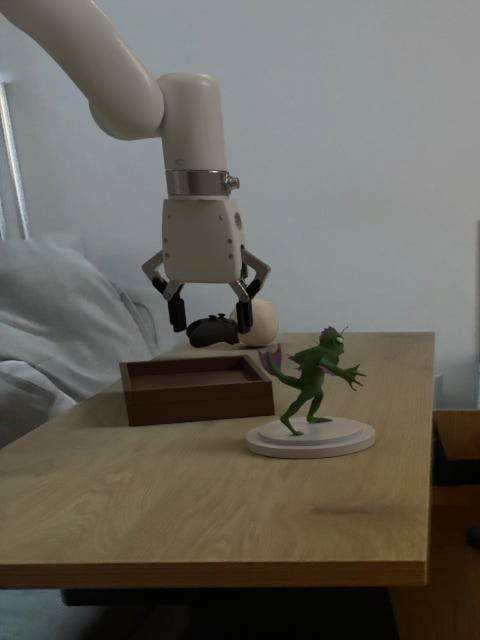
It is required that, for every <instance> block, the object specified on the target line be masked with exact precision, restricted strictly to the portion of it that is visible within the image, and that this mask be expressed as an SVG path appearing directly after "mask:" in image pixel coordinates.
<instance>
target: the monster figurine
mask: <svg viewBox="0 0 480 640" xmlns="http://www.w3.org/2000/svg"><path fill="white" fill-rule="evenodd" d="M346 329H349V326H346V327H345V328H344V329H343V330H342V331H341V332H340V333H339V332H338V330H337V329H336V328H335V327H333V326H331V325H328V328H327V327H326V328H325V327H324V328H323V330H322V331H321V334H320V335H319V337H318V342H319V344H318V342H316V341H314V340H313V342H315V343H316V344H317V345H316V346H312V345H309V348H306V349H303V350H301V351H298V352H295V353H294V355H291V354H285V355H286V356H287V358H288V359H289V360H290V361H292V362H293V363H294V364H297V365H299V366H298V367H295V368H294V370H297V371H298V372H300V376H299V378H298V377H296V376H292V375H286V374H284V373H283V372H282V362H283V359H282V358H283V357H282V356H283V355H282V353H283V352H282V347H281V344H280V343H279V342H277V348H276V350H275V351H274V352H270V351H269V350H267V351H266V352H265V353H263V352H262V351H261V350H260V347H257V353H258V357H259V361H260V363H261V365H262V368H263V369H264V371H265V372H266V373H268V374H269V375H270V376H272V377H275V378H277V379H278V380H279V381H280V382H281V383H282V384H284V385H286V386H287V387H291V388H294V389H296V390H298V391H300V393H299V394H298V395H297V398H296V400H294V401H293V402H292V403H291V404H290V405H289V406H288V408H287V410H286V411H285V412H284V413H283V414H282V415H281V416H279V419H277V420H274V421H271V422H267V423H264V424H263V425H260V426H258V427H255V428H253V429H251V430H250V431H248V432H247V433H246V435H245V442H246V448H247V449H248V451H250V452H253V453H255V454H258V455H261V456H266V457H271V458H272V457H273V458H278V459H279V458H280V459H322V458H332V457H338V456H345V455H349V454H354V453H358V452H361V451H364V450H366V449H368V448H370V447H372V446H373V445H374V444H375V443H376V430H375V428H374V427H373V426H371V425H369V424H368V423H363V422H361V421H357V420H355V419H352V418H347V417H340V416H339V417H338V416H327V415H326V416H322V415H321V416H320V415H319V416H317V415H316V416H314V415H315V414H316V413H317V411H319V408H320V407H321V404H322V401H323V398H324V397H325V396H324V395H325V394H324V391H323V389H322V386H323V385H324V383H325V374H327V375H331V376H332V377H335V376H336V377H339V378H341V379H343V380H344V381H346V382H347V383H348V385H349V388H350V389H351V390H353V391H354V392H358V390H357V388H354V387H353V383H355V384H357V385H359V386H360V387H364V385H363V384H362V383H361V382H359V381H358V380H357V379H356V377H357V376H359V377H367V375H366V374H364V373H361V372H358V369H359V367H360V366H361V364H356V365H355V366H352V367H348V368H346V369H345V368H344V369H343V368H341V367H340V366H338V364H339V362H340V355H342V354H344V353H345V349H344V348H345V344H344V338H343V336H342V334H343V332H344V331H345V330H346ZM310 400H311V402H310V407H309V409H308V412H307V415H306V416H299V417H293V416H294V415H296V414H297V413H298V411H299V410H300V409H302V406H304V405H305V403H306V402H308V401H310Z"/></svg>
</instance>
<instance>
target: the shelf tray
mask: <svg viewBox="0 0 480 640" xmlns="http://www.w3.org/2000/svg"><path fill="white" fill-rule="evenodd" d="M118 365H119V372H120V378H121V384H122V390H123V397H124V402H125V409H126V415H127V420H128V426H129V427H139V426H152V425H153V426H154V425H165V424H166V425H167V424H176V423H178V424H179V423H189V422H201V421H212V420H213V421H214V420H227V419H239V418H250V417H251V418H252V417H264V416H275V415H276V410H275V401H274V400H275V398H274V388H273V387H274V386H273V382H272V379H271V378H270V377H269V376H268V375H267V374H266V373H265V372H264V371H263V369H262V368H261V367H260V366H259V365H258V364H257V363H256V361H255V360H254V359H253V358H252V357H251V356H250V355H249V354H237V355H236V354H235V355H220V356H219V355H218V356H205V357H203V356H202V357H190V358H189V357H186V358H171V359H155V360H137V361H136V360H135V361H127V362H126V361H122V362H118Z"/></svg>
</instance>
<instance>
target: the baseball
mask: <svg viewBox="0 0 480 640" xmlns="http://www.w3.org/2000/svg"><path fill="white" fill-rule="evenodd" d="M251 301H252V313H253V326H252V327H250V328H251V330H250V332H248V333H246V334H240V333H238V339H239V341H240V343H242V344H244V345H246V346H248V347H253V348H260V347H261V348H262V347H264V346H265V347H266V346H268V345H269V344H271V343H272V342H274V341H275V340H276V338H277V336H278V333H279V331H280V319H279V314H278V313H277V311H276V309H275V308H274V305H272V304H271V303H270V302H269V301H267V300H265V299H262V298H257V297H256V298H255V297H254V299H253V300H251ZM227 319H232V320H234V321H235V322H237V312H236V305H235V306H234V307H233V309H232V310H231V311H230V313H229V315H228V317H227ZM237 325H238V323H237Z"/></svg>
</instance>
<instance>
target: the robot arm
mask: <svg viewBox="0 0 480 640" xmlns="http://www.w3.org/2000/svg"><path fill="white" fill-rule="evenodd" d="M0 14H1V15H2V16H3V17H4V18H5V19H6V20H7V21H8V22H9V23H10V24H11V25H13V26H14V27H16V28H17V29H18V30H20V31H21V32H23V33H24V34H26V35H27V36H28V37H29V38H31V39H32V40H33V41H34V42H36V43H37V44H38V46H40V48H42V49H43V50H44V52H46V53H47V54H48V56H49V57H51V59H52V60H54V63H56V64H57V66H59V67H60V69H61V70H62V71H63V72H64V73H65V75H67V77H68V78H69V79H70V80H71V82H72V83H73V84H74V86H75V87H76V88H77V89H78V90H79V91H80V93H82V95H83V96H84V97H85V98H86V99H87V101H88V108H89V113H90V115H91V118H92V119H93V121H94V123H95V125H96V126H97V127H98V128H99V129H100V130H101V131H102V132H103V133H105V135H107V136H109V137H111V138H113V139H115V140H119V141H124V142H131V141H138V140H139V141H140V140H147V139H158V138H159V139H161V146H162V155H163V165H164V170H165V171H164V173H165V181H166V190H167V198H163V201H162V210H161V211H162V213H161V247H162V248H161V250H159V252H156V253H155V254H154V255H152V257H150V258H149V259H148V260H147V261H145V262H144V263H143V264H142V265H141V270H142V271H143V273H144V274H145V276H146V277H147V279H148V280H149V281H150V282H151V285H152V286H153V288H154V289H155V290H157V291H158V292H159V293H160V295H162V298H163V300H165V301H166V302H167V311H168V312H167V313H168V319H169V324H170V325H171V326H172V329H173V333H175V334H176V333H178V334H179V333H181V332H184V331H186V329H187V327H188V323H187V315H186V314H187V313H186V305H185V300H184V298H182V297H181V293H182V292H183V289H184V288H185V285H187V284H219V285H220V284H225V285H226V284H228V285H229V287H230V288H231V289H232V291H233V293H234V294H235V295H236V297H237V298H238V301H237V302H236V303H235V306H236V312H237V323H238V332H239V333H240V334H246V333H248V332H250V330H251V328H250V327H252V326H253V313H252V301H251V300H253V299H254V298H255V297H256V296H257V294H259V292H260V291H261V290H262V289H263V287H264V284H265V283H266V281H267V279H268V278H269V276H270V273H271V271H272V268H271V266H270V265H268V264H267V263H265V262H264V261H263V260H261V259H260V258H258V257H256V255H254V254H252V253H251V252H250V251H249V250H248V247H247V241H246V235H245V234H246V233H245V229H244V224H243V220H242V215H241V211H240V206H239V203H238V200H237V199H231V196H230V195H232V191H234V190H240V186H241V183H240V178H239V177H233V175H231V174H230V172H229V171H228V164H227V163H228V161H227V160H228V159H227V151H226V140H225V128H224V117H223V106H222V94H221V87H220V85H219V82H218V81H217V79H215V78H214V76H211V75H209V74H203V73H197V72H169V73H164V74H162V75H160V76H159V77H158V76H154V75H153V74H152V72H151V71H150V70H149V69H148V67H147V66H146V65H145V63H144V62H143V61H142V59H141V58H140V57H139V56H138V54H137V53H136V52H135V50H134V49H133V48H132V46H131V45H130V44H129V43H128V41H127V40H126V39H125V38H124V36H123V35H122V34H121V32H120V31H119V30H118V29H117V28H116V26H115V25H114V24H113V23H112V22H111V20H110V19H109V18H108V17H107V15H105V13H104V12H103V11H102V10H101V9H100V7H98V5H97V4H96V3H95V2H94V1H93V0H0ZM162 265H163V269H164V273H165V276H166V278H167V279H168V280H169V281H167V280H166V279H165V278H164V277H162V275H161V273H160V272H159V268H160V267H161V266H162ZM250 268H251V269H252V270H254V271H255V275H254V277H253V280H252V281H251V282H250V283H249V284H248V282H247V281H246V279H247V278H249V276H250Z"/></svg>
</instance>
